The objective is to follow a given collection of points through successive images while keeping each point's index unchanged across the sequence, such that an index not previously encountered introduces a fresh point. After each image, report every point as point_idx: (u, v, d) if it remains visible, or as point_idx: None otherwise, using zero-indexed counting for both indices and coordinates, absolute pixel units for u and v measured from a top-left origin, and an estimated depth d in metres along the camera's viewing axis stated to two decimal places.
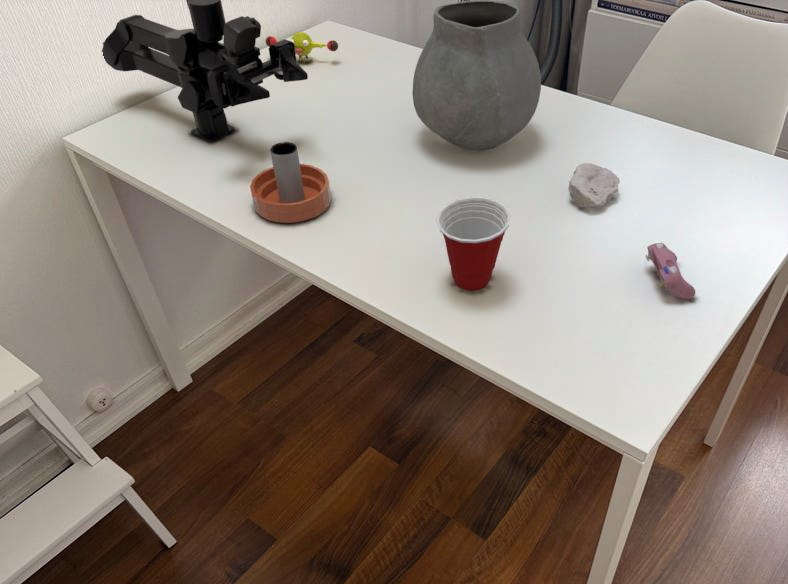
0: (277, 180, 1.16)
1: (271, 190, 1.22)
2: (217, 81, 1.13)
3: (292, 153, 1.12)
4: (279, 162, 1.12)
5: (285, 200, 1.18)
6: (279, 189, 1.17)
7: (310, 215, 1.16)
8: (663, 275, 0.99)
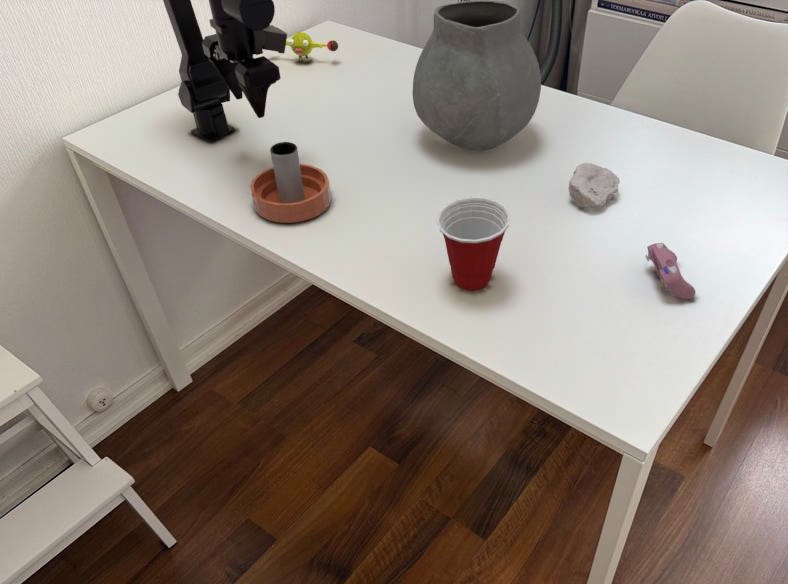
0: (277, 180, 1.16)
1: (271, 190, 1.22)
2: (274, 80, 1.09)
3: (292, 153, 1.12)
4: (279, 162, 1.12)
5: (285, 200, 1.18)
6: (279, 189, 1.17)
7: (310, 215, 1.16)
8: (663, 275, 0.99)
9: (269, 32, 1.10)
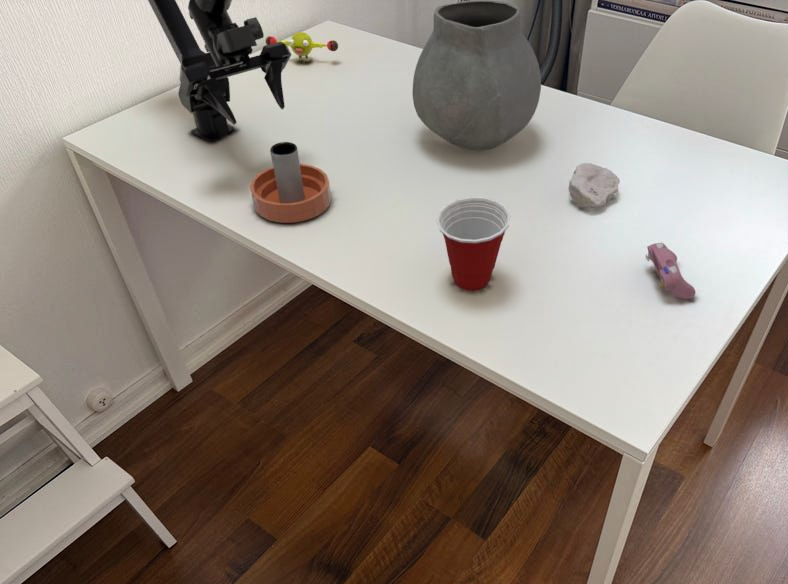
0: (277, 180, 1.16)
1: (271, 190, 1.22)
2: (190, 84, 1.09)
3: (292, 153, 1.12)
4: (279, 162, 1.12)
5: (285, 200, 1.18)
6: (279, 189, 1.17)
7: (310, 215, 1.16)
8: (663, 275, 0.99)
9: (217, 35, 1.08)
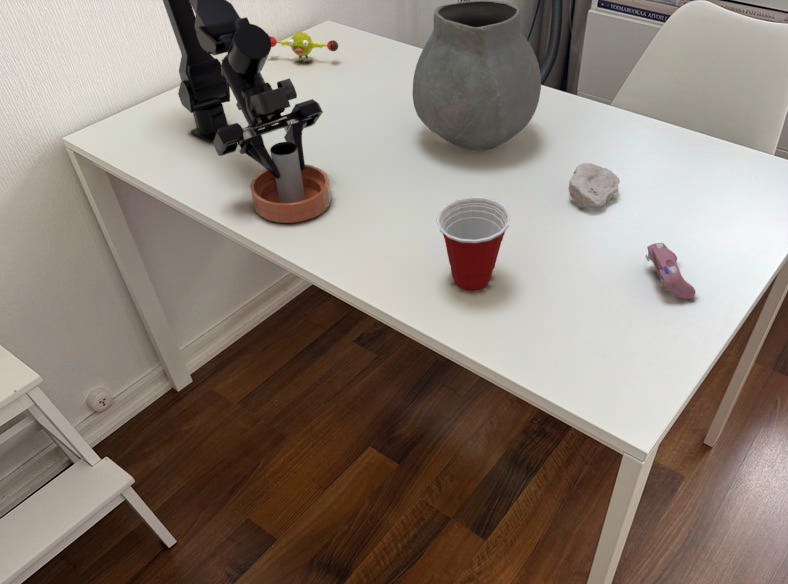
0: (277, 180, 1.16)
1: (271, 190, 1.22)
2: (224, 145, 1.09)
3: (292, 153, 1.12)
4: (279, 162, 1.12)
5: (285, 200, 1.18)
6: (279, 189, 1.17)
7: (310, 215, 1.16)
8: (663, 275, 0.99)
9: (251, 97, 1.08)
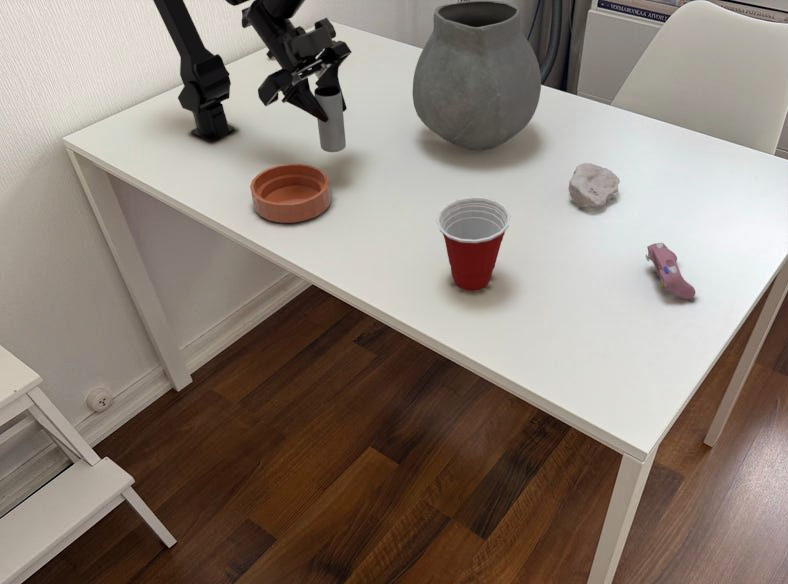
0: (323, 125, 1.16)
1: (271, 190, 1.22)
2: (276, 92, 1.07)
3: (339, 93, 1.13)
4: (327, 104, 1.13)
5: (330, 145, 1.18)
6: (324, 134, 1.17)
7: (310, 215, 1.16)
8: (663, 275, 0.99)
9: (295, 39, 1.07)
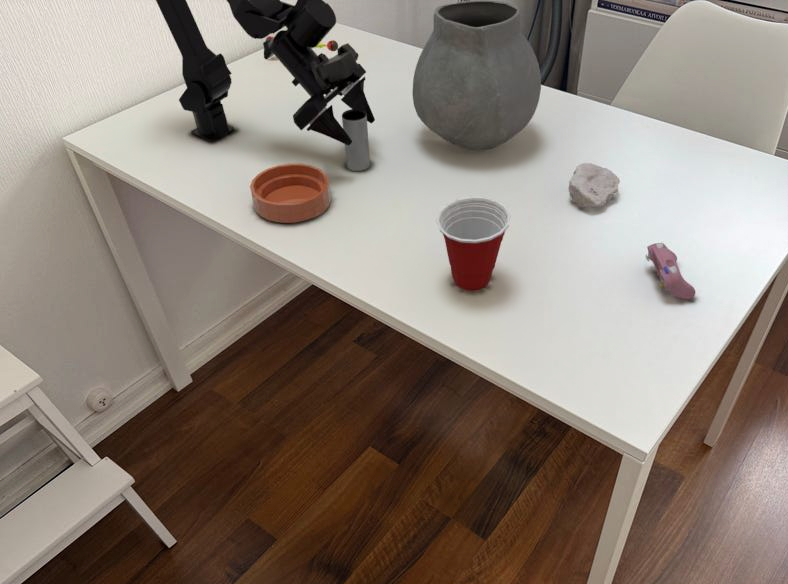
0: (351, 146, 1.25)
1: (271, 190, 1.22)
2: (315, 116, 1.15)
3: (365, 116, 1.22)
4: (356, 127, 1.22)
5: (359, 164, 1.27)
6: (353, 155, 1.26)
7: (310, 215, 1.16)
8: (663, 275, 0.99)
9: (324, 66, 1.15)
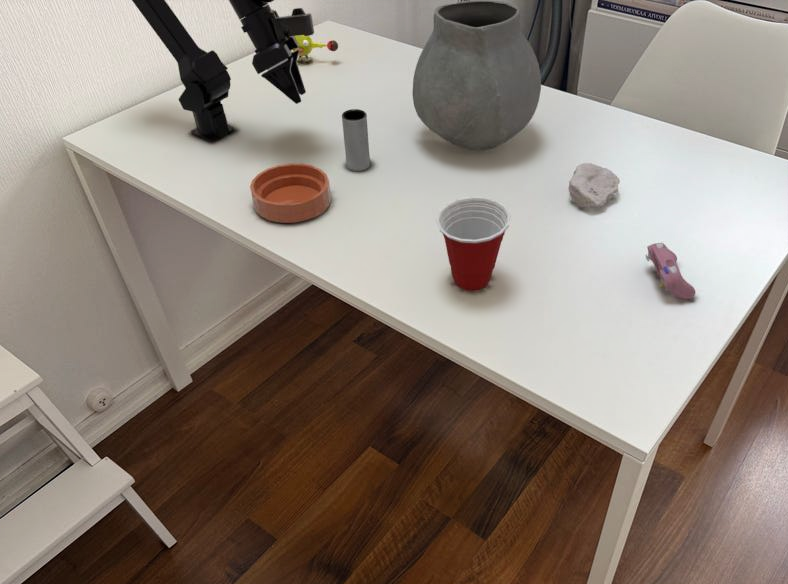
0: (351, 146, 1.25)
1: (271, 190, 1.22)
2: (282, 60, 1.12)
3: (365, 116, 1.22)
4: (356, 127, 1.22)
5: (359, 164, 1.27)
6: (353, 155, 1.26)
7: (310, 215, 1.16)
8: (663, 275, 0.99)
9: (288, 18, 1.14)
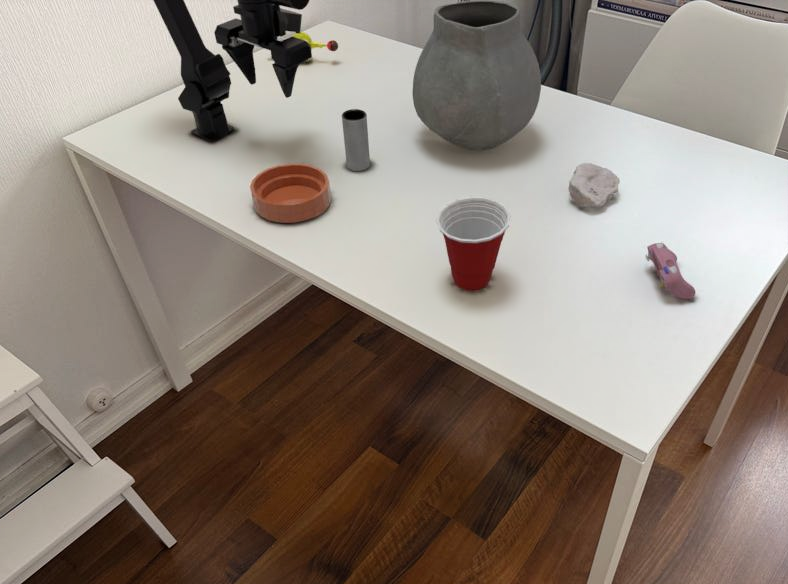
0: (351, 146, 1.25)
1: (271, 190, 1.22)
2: None
3: (365, 116, 1.22)
4: (356, 127, 1.22)
5: (359, 164, 1.27)
6: (353, 155, 1.26)
7: (310, 215, 1.16)
8: (663, 275, 0.99)
9: (289, 13, 1.16)
